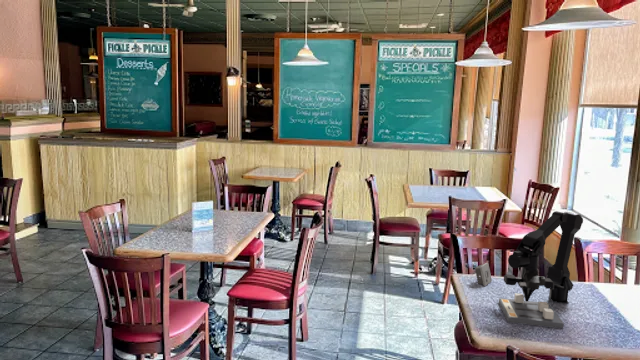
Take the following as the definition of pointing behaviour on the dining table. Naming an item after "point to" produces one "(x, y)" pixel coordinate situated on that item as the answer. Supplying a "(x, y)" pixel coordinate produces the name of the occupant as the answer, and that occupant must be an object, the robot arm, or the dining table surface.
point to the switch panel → (528, 313)
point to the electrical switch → (483, 274)
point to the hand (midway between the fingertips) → (526, 301)
